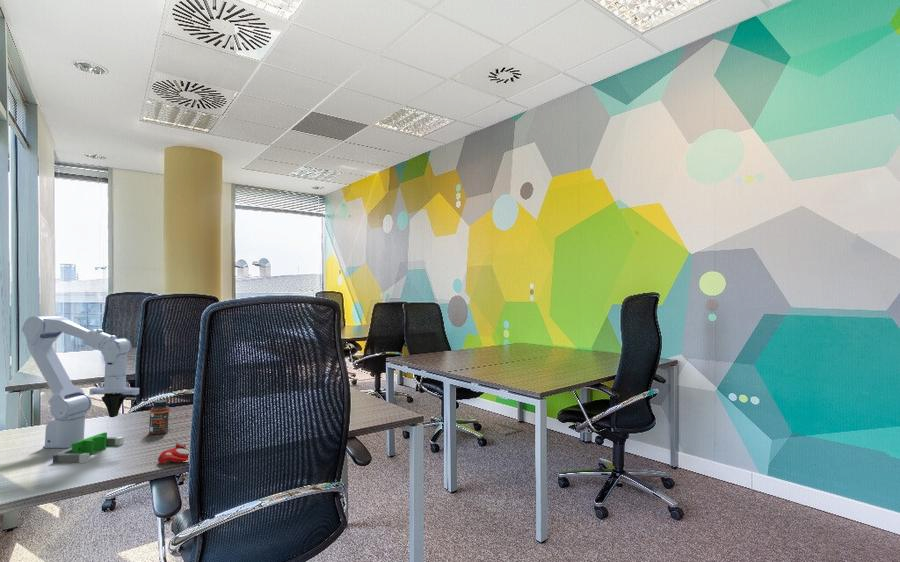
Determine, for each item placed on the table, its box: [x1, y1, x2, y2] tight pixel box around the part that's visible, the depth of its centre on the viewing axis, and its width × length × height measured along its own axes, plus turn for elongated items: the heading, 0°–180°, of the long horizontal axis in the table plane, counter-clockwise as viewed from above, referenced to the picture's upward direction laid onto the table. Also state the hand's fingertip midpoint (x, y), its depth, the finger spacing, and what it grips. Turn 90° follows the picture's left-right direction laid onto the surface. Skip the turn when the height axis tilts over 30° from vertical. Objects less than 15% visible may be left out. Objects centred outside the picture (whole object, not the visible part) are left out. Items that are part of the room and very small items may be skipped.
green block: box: [72, 431, 108, 456], centre depth 140 cm, size 11×4×5 cm, turn 175°
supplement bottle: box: [148, 399, 171, 435], centre depth 161 cm, size 6×6×11 cm
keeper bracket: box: [52, 436, 125, 464], centre depth 139 cm, size 9×17×2 cm, turn 4°
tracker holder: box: [157, 441, 190, 465], centre depth 135 cm, size 12×4×10 cm
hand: (113, 416), depth 146 cm, fingers closed
